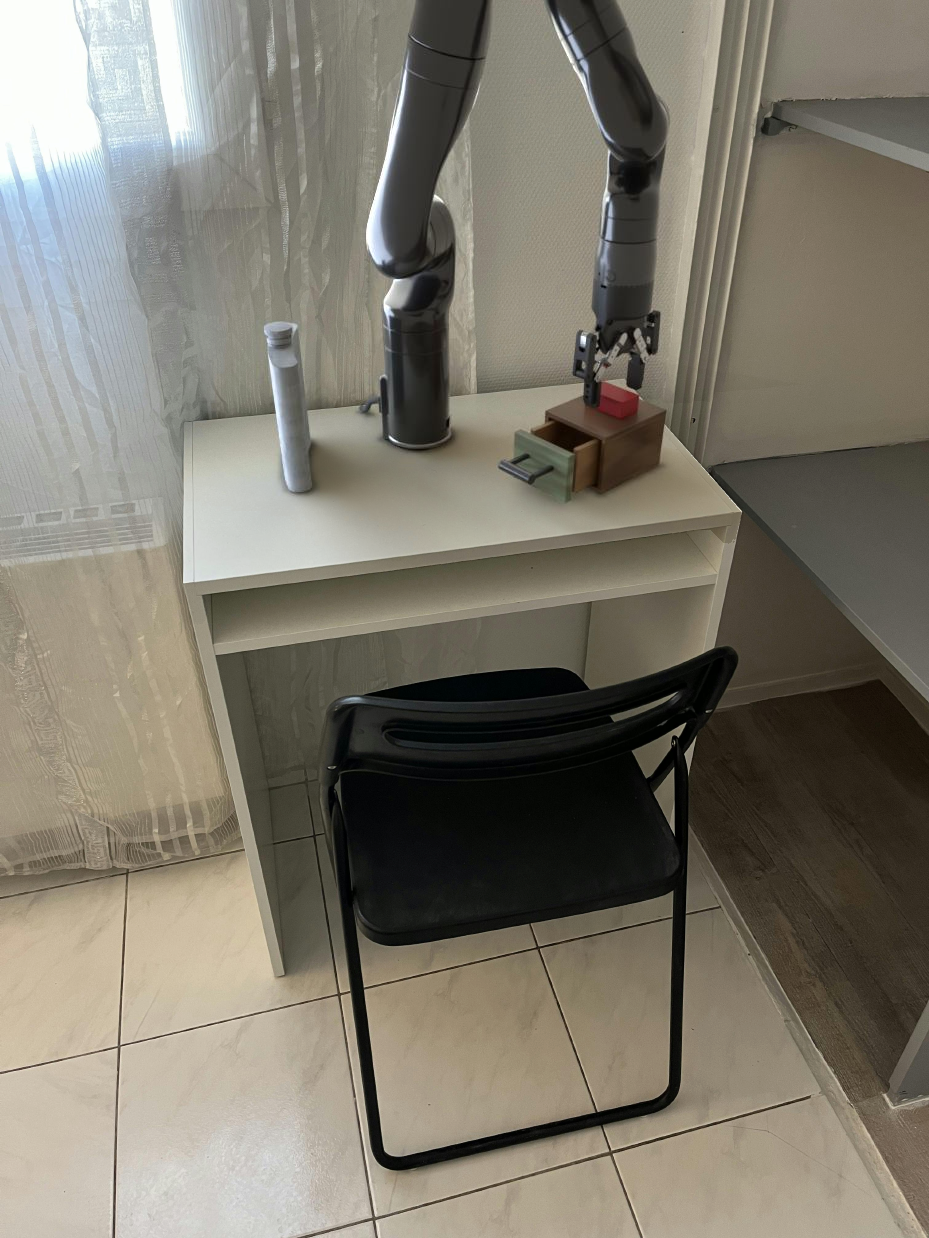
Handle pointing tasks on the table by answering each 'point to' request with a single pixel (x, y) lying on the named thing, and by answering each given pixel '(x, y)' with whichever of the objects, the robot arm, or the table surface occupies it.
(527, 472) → the drawer
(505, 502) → the table surface
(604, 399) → the red block
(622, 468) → the cabinet
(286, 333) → the hip flask
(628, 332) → the robot arm
